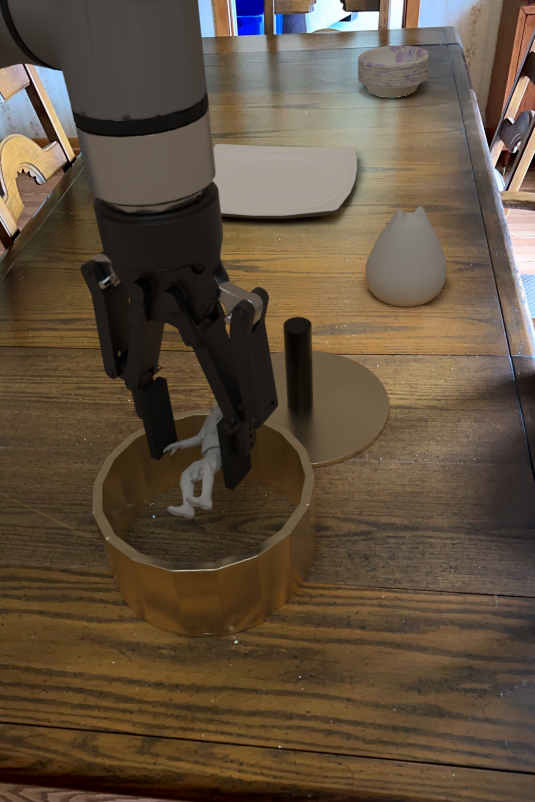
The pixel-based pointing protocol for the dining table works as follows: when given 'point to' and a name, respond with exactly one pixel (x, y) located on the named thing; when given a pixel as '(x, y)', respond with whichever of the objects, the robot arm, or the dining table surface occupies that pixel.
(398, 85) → the paper bowls
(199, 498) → the soldier figure
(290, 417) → the lid
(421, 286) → the toy character
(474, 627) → the dining table surface
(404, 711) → the dining table surface
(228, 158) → the plate
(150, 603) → the pot
